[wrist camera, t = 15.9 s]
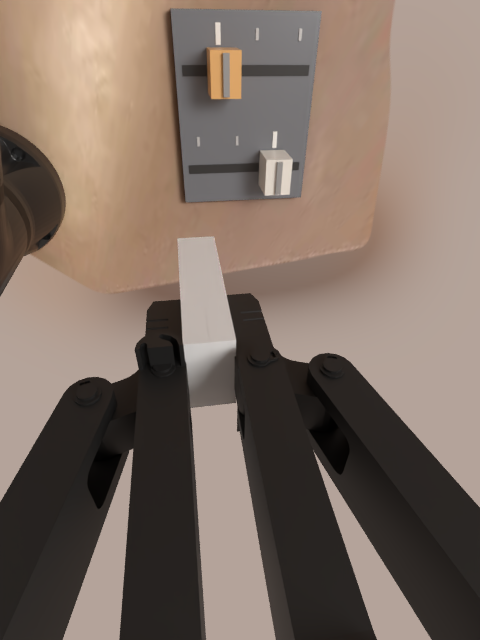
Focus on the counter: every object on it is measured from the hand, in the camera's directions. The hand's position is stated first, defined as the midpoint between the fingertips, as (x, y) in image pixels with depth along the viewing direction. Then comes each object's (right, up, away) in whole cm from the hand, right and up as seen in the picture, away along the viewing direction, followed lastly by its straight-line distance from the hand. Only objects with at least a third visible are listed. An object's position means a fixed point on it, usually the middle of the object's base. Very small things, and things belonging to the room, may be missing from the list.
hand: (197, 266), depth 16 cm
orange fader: (0, +24, +24) cm, 34 cm away
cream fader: (+6, +17, +31) cm, 35 cm away
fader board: (+2, +21, +28) cm, 35 cm away
